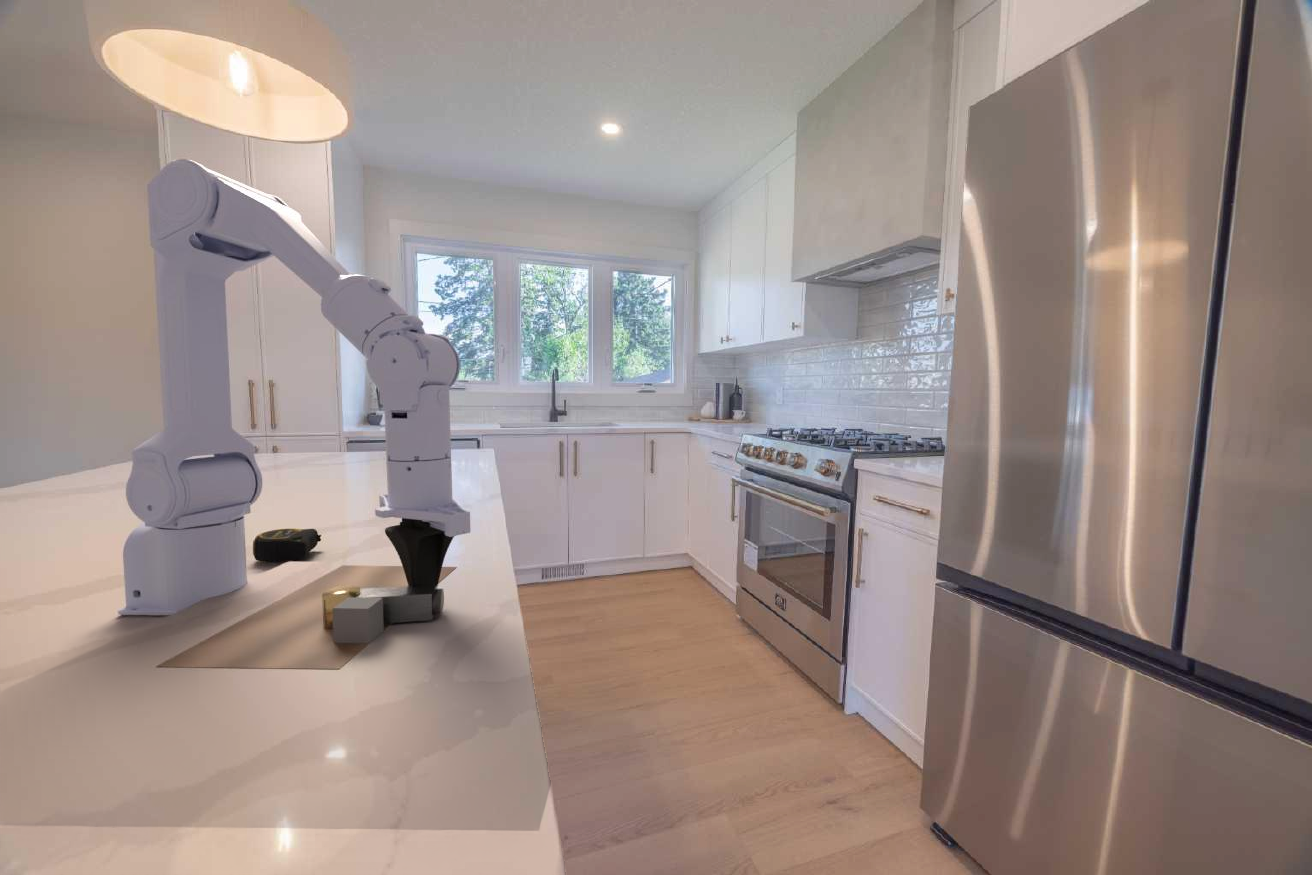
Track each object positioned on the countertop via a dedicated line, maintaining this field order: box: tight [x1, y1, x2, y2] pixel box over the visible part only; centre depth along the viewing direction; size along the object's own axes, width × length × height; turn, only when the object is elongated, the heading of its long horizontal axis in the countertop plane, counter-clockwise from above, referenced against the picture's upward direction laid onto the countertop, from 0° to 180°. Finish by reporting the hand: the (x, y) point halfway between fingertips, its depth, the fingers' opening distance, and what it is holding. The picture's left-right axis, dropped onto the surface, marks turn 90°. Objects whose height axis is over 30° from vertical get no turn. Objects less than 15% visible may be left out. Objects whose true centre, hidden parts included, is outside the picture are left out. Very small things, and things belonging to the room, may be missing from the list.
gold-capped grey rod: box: [322, 585, 445, 628], centre depth 48 cm, size 10×3×3 cm, turn 102°
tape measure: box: [252, 528, 322, 564], centre depth 70 cm, size 7×7×4 cm
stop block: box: [332, 597, 385, 644], centre depth 45 cm, size 3×2×3 cm
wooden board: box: [155, 564, 458, 670], centre depth 52 cm, size 14×24×2 cm, turn 0°
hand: (424, 594), depth 51 cm, fingers closed
